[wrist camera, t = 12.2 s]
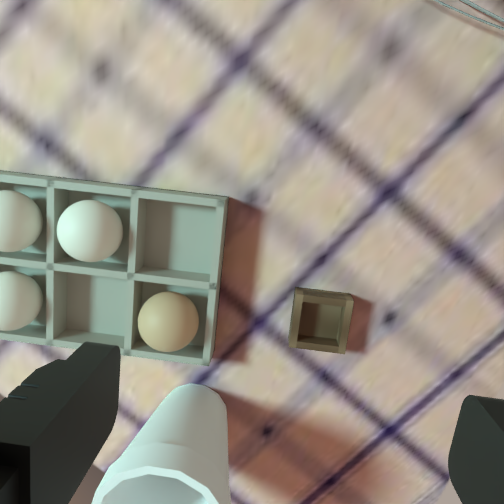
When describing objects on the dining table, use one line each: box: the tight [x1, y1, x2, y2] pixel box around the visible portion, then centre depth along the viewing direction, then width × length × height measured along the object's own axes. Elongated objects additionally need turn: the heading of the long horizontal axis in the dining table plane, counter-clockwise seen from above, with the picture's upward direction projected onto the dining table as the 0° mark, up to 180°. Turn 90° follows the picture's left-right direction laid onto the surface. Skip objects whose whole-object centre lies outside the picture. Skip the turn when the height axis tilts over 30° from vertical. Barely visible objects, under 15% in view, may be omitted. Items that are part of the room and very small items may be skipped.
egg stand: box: [288, 287, 354, 354], centre depth 37 cm, size 5×5×2 cm
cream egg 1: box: [0, 190, 43, 252], centre depth 35 cm, size 5×5×5 cm
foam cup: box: [92, 383, 231, 504], centre depth 35 cm, size 10×9×13 cm
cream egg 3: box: [57, 200, 123, 262], centre depth 34 cm, size 5×5×5 cm
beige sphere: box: [138, 291, 199, 352], centre depth 36 cm, size 5×5×5 cm
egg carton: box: [0, 170, 229, 366], centre depth 37 cm, size 14×21×3 cm
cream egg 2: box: [0, 271, 43, 331], centre depth 36 cm, size 5×5×5 cm
